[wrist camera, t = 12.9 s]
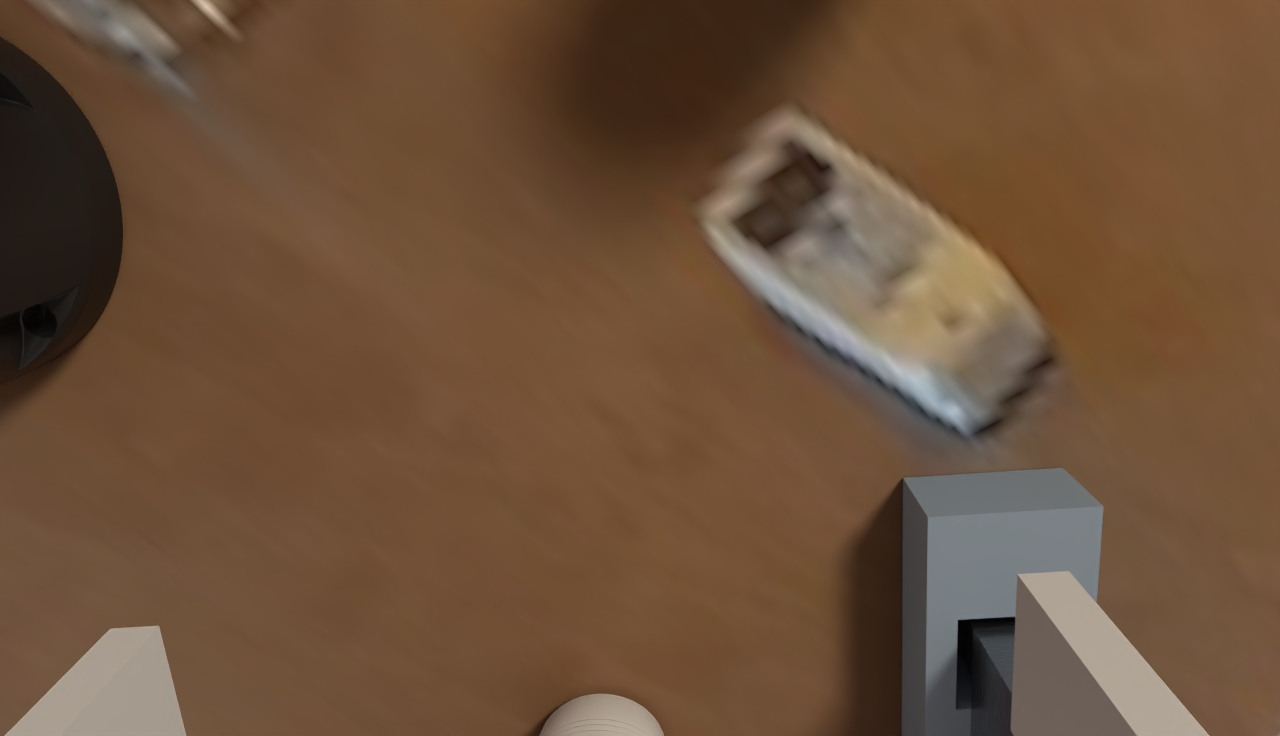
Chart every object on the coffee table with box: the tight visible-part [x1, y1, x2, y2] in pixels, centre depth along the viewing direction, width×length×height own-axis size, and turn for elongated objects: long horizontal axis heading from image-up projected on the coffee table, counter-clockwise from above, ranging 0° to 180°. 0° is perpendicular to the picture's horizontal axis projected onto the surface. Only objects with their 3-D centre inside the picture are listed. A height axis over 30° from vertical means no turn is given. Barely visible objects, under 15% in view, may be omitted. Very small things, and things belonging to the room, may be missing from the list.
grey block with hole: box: [902, 468, 1103, 736], centre depth 44 cm, size 7×22×4 cm, turn 4°
